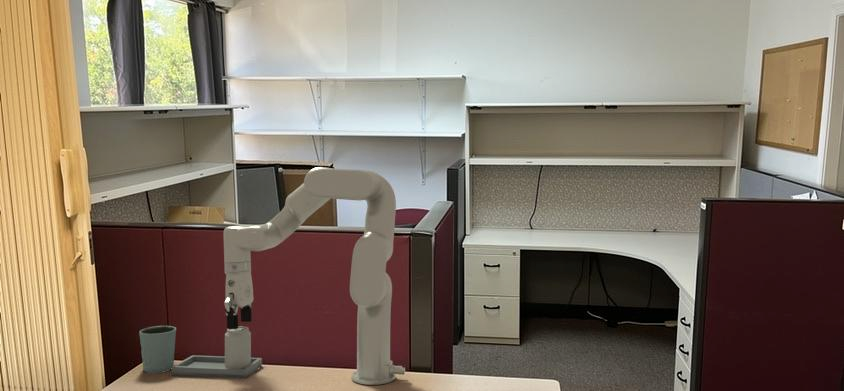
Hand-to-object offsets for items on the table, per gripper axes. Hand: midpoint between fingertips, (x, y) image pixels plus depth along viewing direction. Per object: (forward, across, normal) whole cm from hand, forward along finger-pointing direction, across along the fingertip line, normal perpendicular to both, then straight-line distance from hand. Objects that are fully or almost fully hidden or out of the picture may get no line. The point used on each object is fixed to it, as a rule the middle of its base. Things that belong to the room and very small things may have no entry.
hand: (239, 325), depth 184 cm
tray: (+14, 0, +7) cm, 16 cm away
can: (+13, 0, +1) cm, 13 cm away
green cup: (+13, -1, +26) cm, 29 cm away
